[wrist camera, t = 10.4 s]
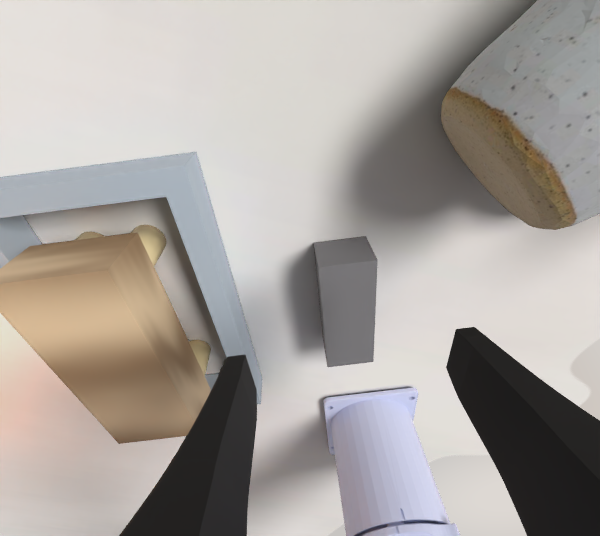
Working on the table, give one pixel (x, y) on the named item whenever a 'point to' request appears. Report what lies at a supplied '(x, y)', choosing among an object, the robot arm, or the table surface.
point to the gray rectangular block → (347, 299)
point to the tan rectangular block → (107, 333)
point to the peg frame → (141, 230)
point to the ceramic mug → (535, 114)
